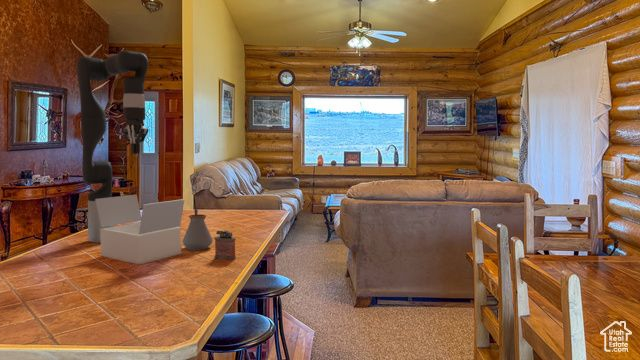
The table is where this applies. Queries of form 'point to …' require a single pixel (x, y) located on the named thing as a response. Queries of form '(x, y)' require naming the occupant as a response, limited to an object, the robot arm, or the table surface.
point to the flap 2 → (161, 216)
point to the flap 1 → (118, 210)
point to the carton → (139, 243)
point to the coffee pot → (197, 233)
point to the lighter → (225, 245)
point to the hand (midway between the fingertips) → (135, 153)
